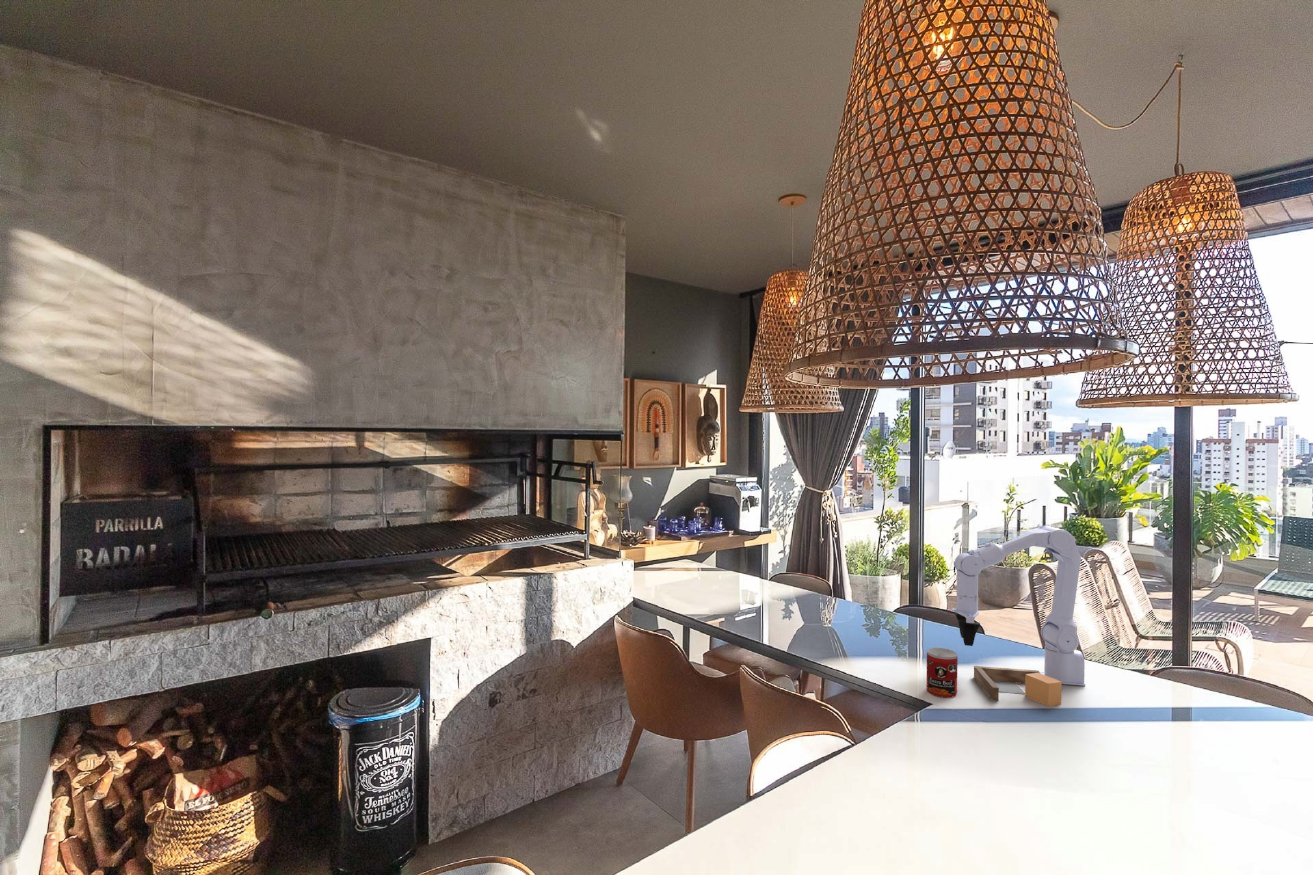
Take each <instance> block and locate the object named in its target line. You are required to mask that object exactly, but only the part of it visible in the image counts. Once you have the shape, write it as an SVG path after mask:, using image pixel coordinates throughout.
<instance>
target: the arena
mask: <svg viewBox="0 0 1313 875" xmlns="http://www.w3.org/2000/svg"><path fill="white" fill-rule="evenodd" d="M1040 672H1041V671H1039V670H1034V669H1033V670H1032V669H1022V668H1019V669H1018V668H1010V667H1009V668H1007V667H994V666H980V665H973V679H974V680H975V681H976V682H977V684H978V685H979V686H980V687H981V688H982V690H983V691H984V693H986V695H987V696H988V697H989V698H990V700H991V701H992V702H999V700H1000V699H999V697H1000V694H999V693H1000V692H999V688H998V686H997V685H996V684H995V683H994V682H993V681H999V682H1012V683H1016V684H1025V678H1026V674H1032V673H1040Z"/></svg>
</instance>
